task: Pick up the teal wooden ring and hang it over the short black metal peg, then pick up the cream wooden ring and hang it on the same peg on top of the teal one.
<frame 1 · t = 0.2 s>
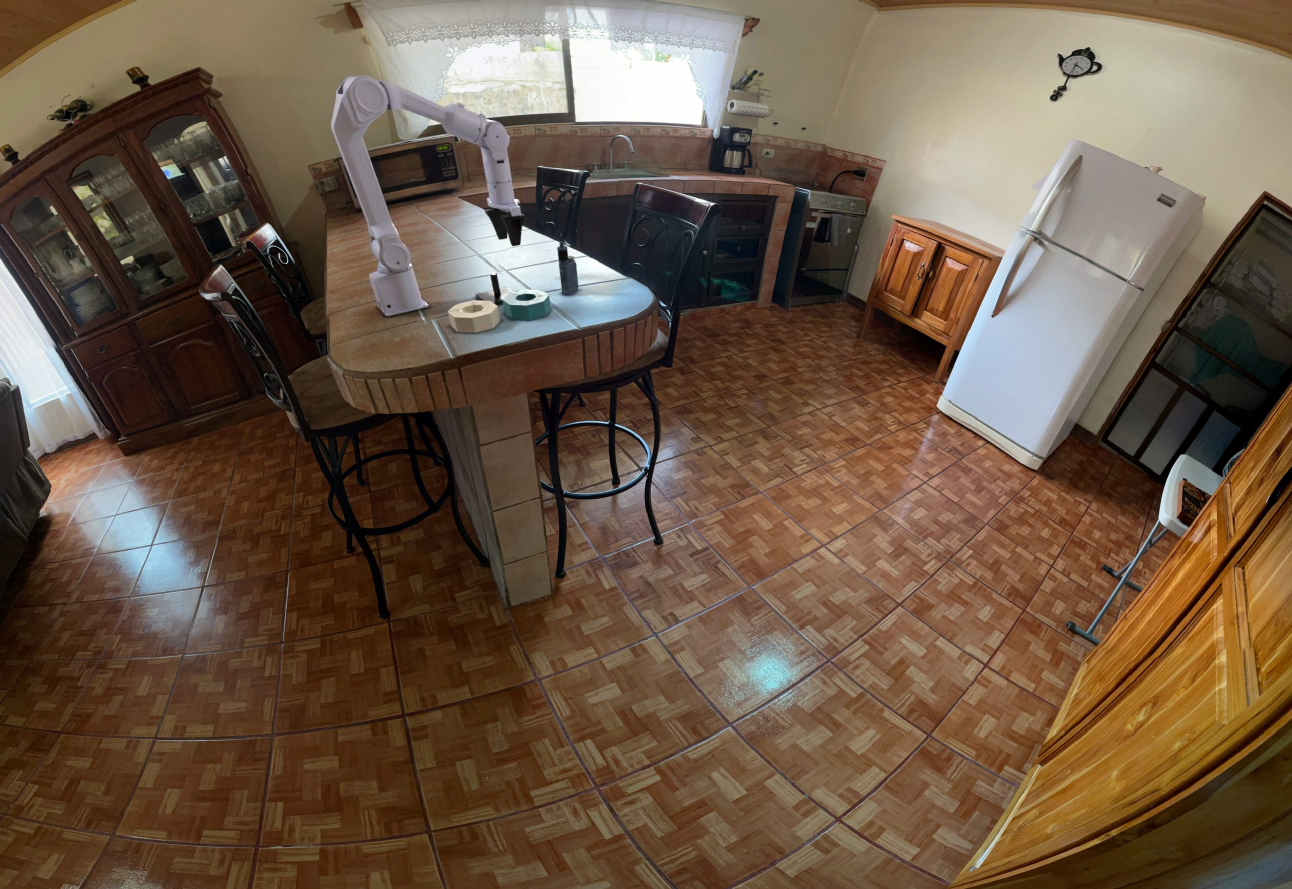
hand: (509, 242, 126), 10 cm above the breakfast bar, tool pointing down, fingers open, 7 cm apart
vaping device: (570, 292, 125), on the breakfast bar
cream ring: (476, 323, 110), on the breakfast bar
peg stand: (498, 298, 122), on the breakfast bar
teal ring: (528, 311, 115), on the breakfast bar
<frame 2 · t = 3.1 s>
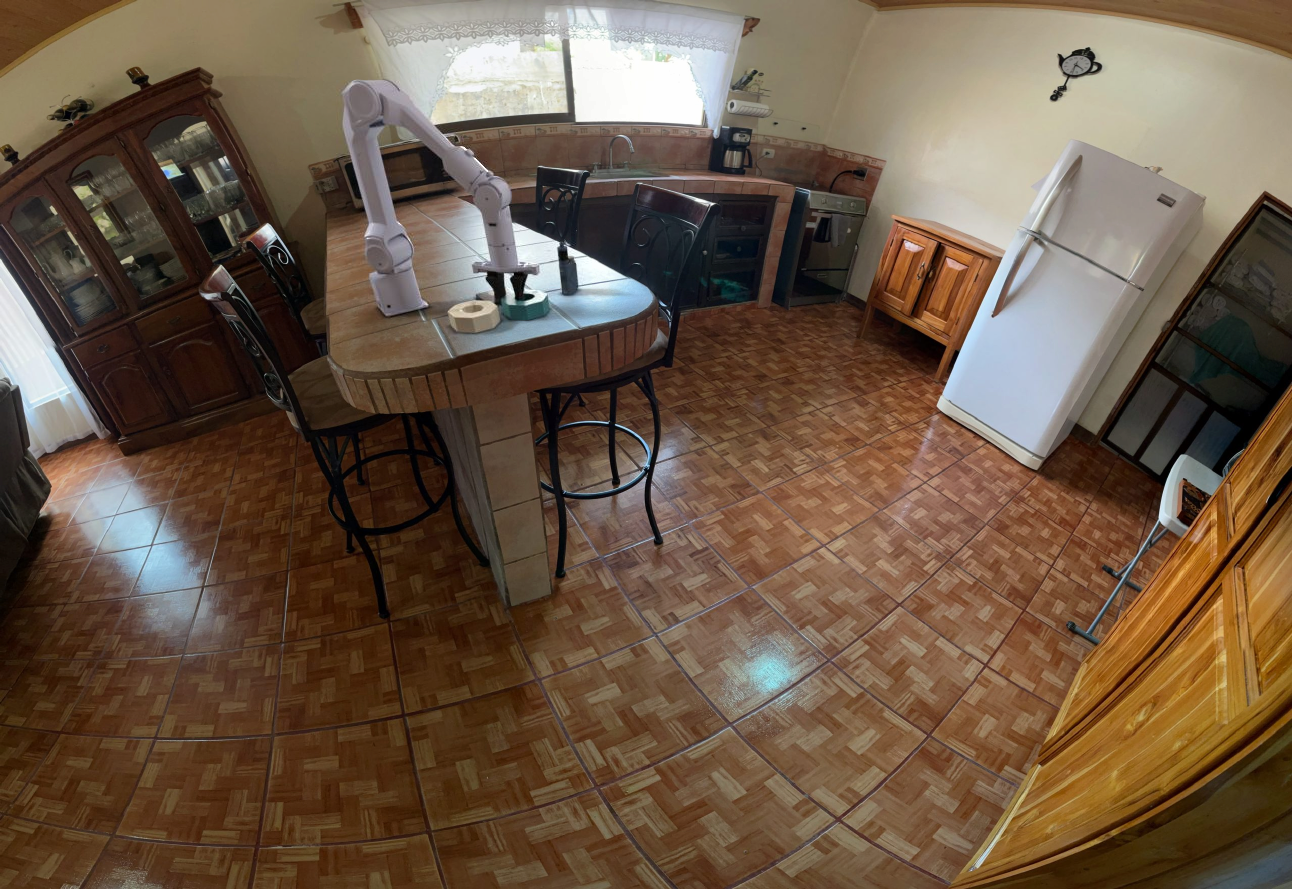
hand: (512, 305, 115), 1 cm above the breakfast bar, tool pointing down, fingers closed on teal ring, 3 cm apart
teal ring: (526, 311, 115), on the breakfast bar, touching gripper
everything else where it was.
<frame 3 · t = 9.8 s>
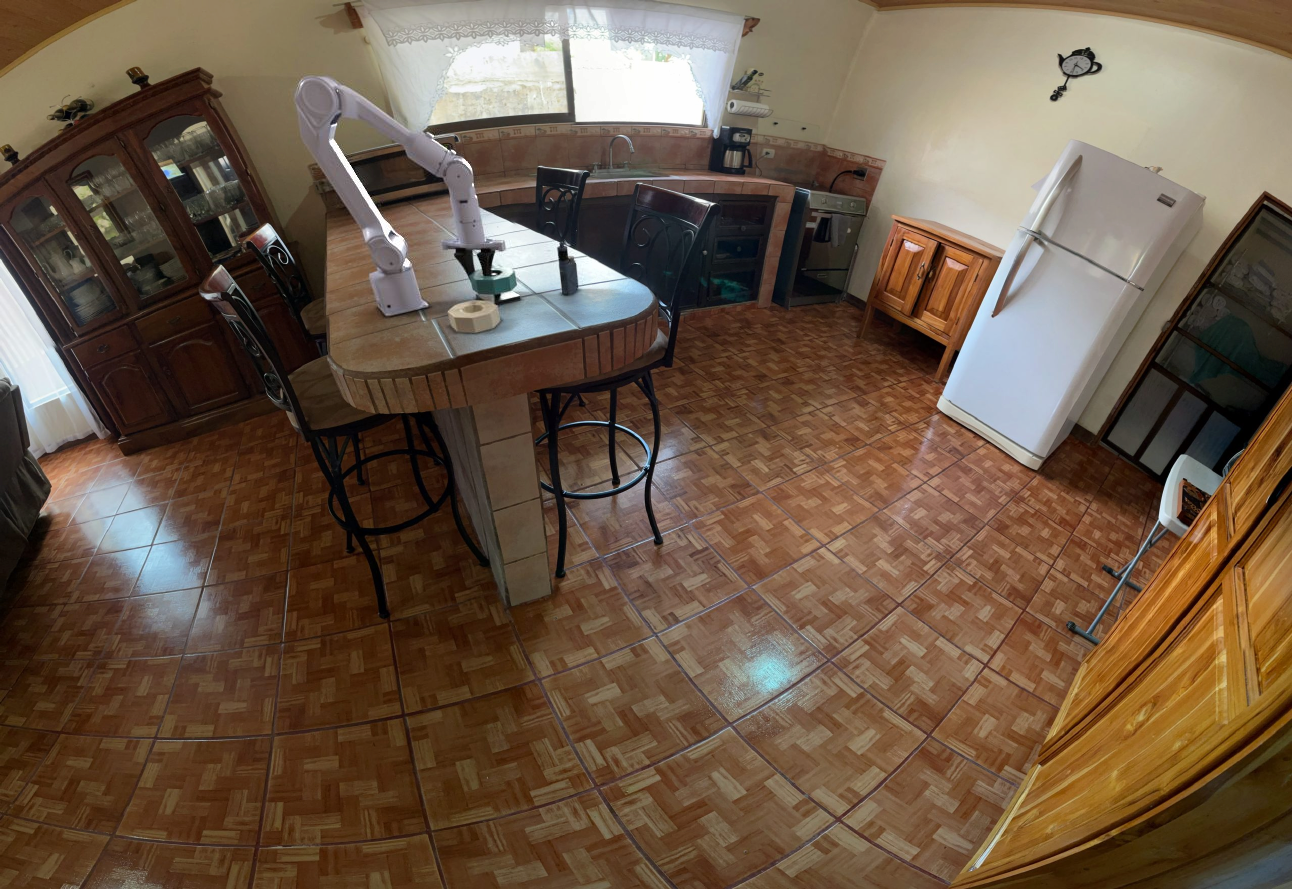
hand: (481, 281, 120), 4 cm above the breakfast bar, tool pointing down, fingers closed on teal ring, 3 cm apart
teal ring: (495, 287, 120), point 3 cm above the breakfast bar, touching gripper
everything else where it was.
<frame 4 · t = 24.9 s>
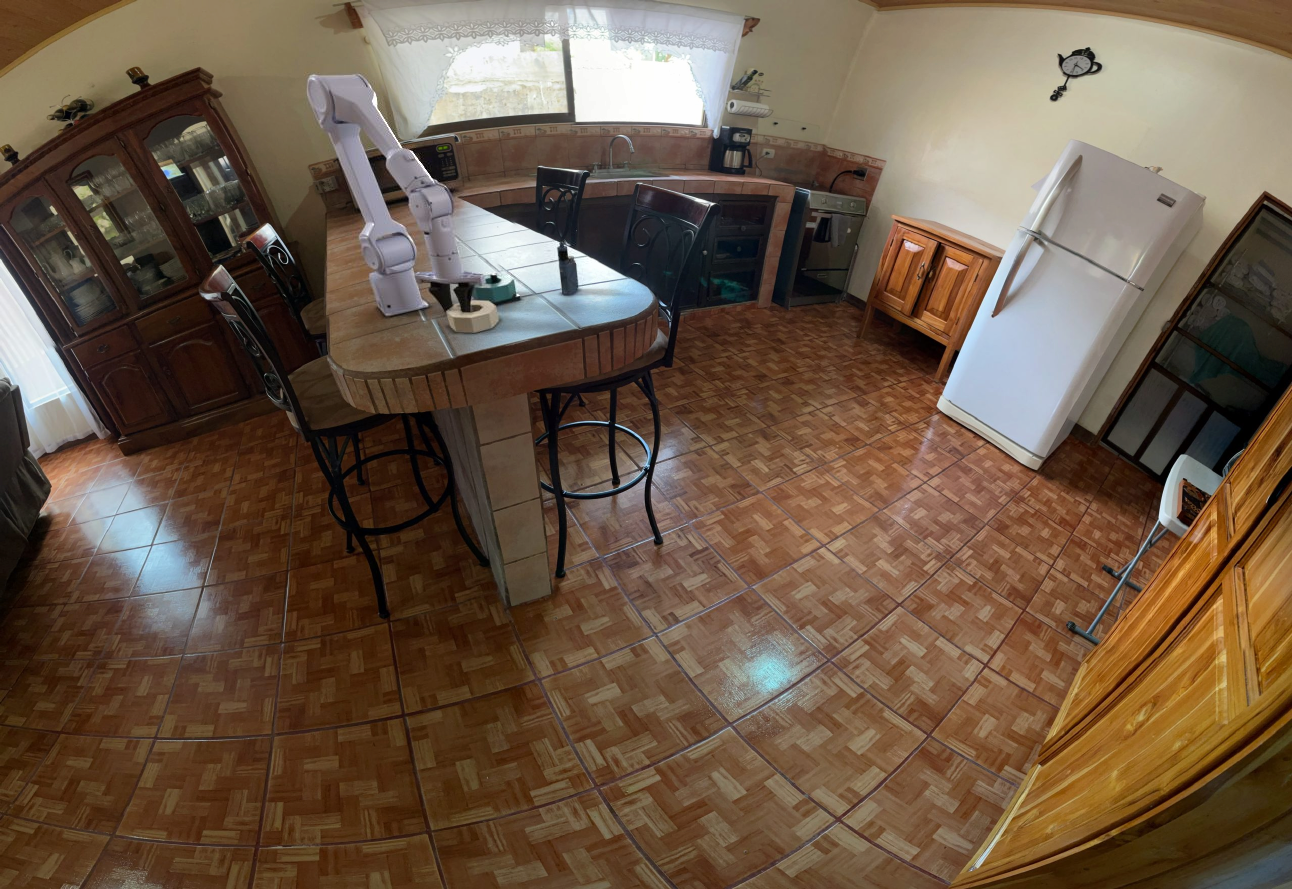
hand: (459, 316, 110), 1 cm above the breakfast bar, tool pointing down, fingers closed on cream ring, 3 cm apart
cream ring: (474, 323, 110), on the breakfast bar, touching gripper
teal ring: (494, 294, 121), point 1 cm above the breakfast bar, touching peg stand
everything else where it was.
when the fingers open (6 cm above the breakfast bar, at t = 29.2 s): cream ring stays where it is, resting on teal ring.
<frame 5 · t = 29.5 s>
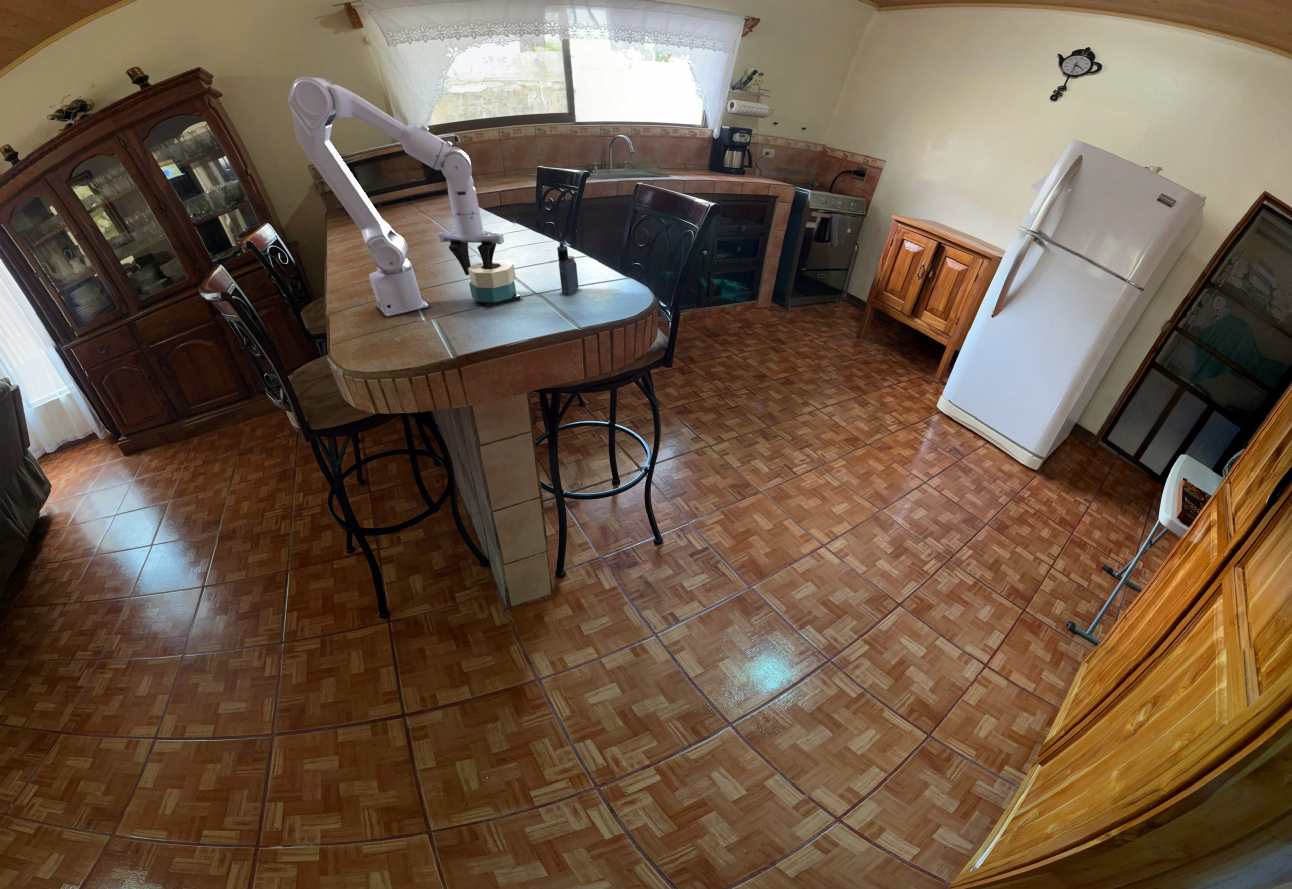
hand: (478, 274, 119), 6 cm above the breakfast bar, tool pointing down, fingers open, 4 cm apart
cream ring: (493, 280, 119), point 4 cm above the breakfast bar, touching teal ring
teal ring: (494, 294, 121), point 1 cm above the breakfast bar, touching cream ring, peg stand
everything else where it was.
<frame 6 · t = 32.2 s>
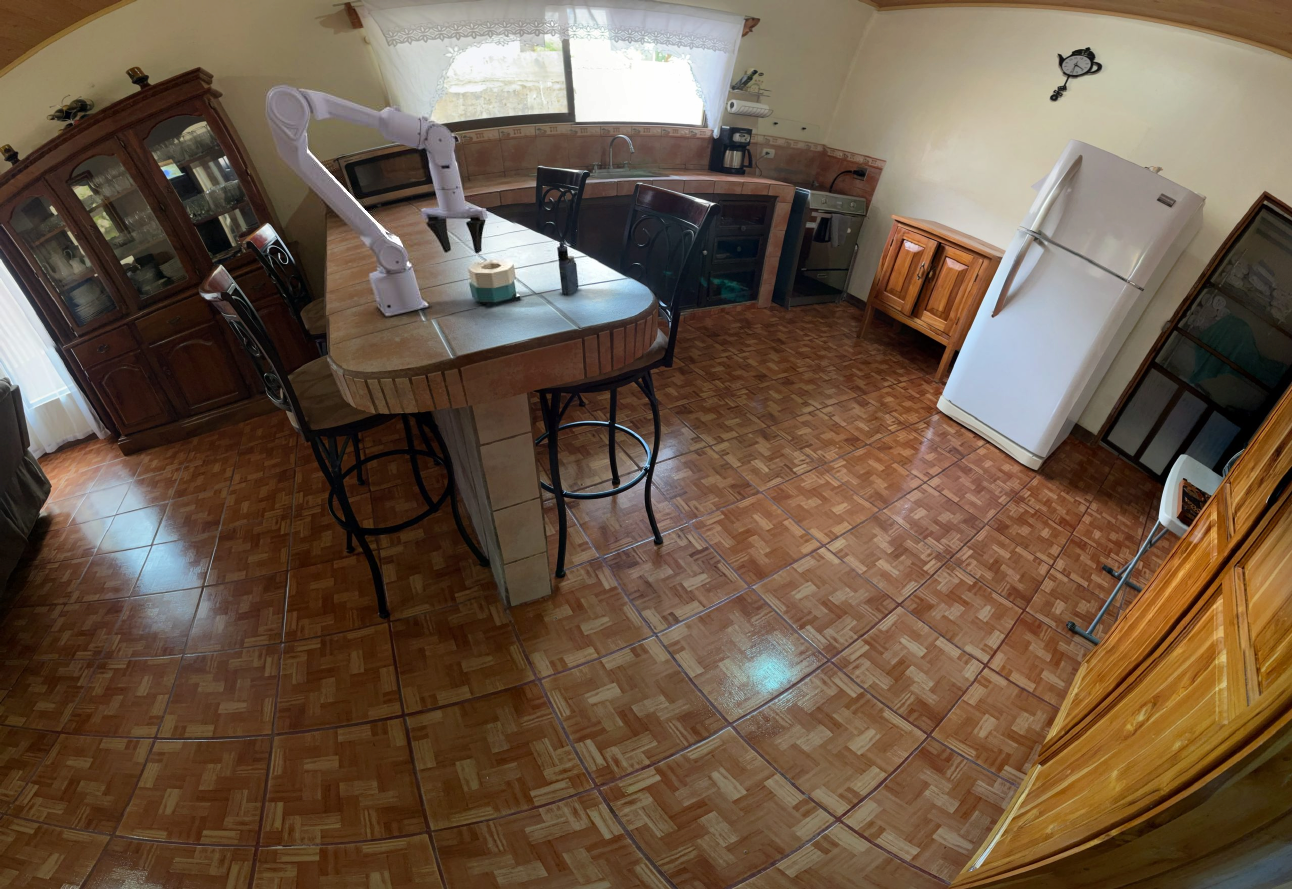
hand: (463, 251, 118), 10 cm above the breakfast bar, tool pointing down, fingers open, 7 cm apart
nothing on the breakfast bar moved.
at the end: teal ring 0.8 cm off-centre on the peg stand, point 1.0 cm above the peg stand's base; cream ring 0.3 cm off-centre on the peg stand, point 4.4 cm above the peg stand's base; cream ring tilted 0° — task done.
